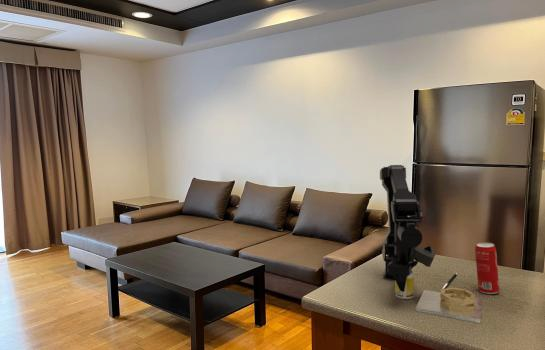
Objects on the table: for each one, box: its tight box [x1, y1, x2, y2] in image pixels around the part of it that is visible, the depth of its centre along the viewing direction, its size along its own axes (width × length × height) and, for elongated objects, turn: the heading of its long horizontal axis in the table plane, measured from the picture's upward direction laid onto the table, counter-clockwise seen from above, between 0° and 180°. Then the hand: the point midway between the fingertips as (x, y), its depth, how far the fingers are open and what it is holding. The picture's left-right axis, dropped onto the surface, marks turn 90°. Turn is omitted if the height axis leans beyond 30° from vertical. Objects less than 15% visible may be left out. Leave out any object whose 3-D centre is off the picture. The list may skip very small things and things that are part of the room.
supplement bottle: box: [394, 272, 415, 300], centre depth 119 cm, size 5×5×10 cm
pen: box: [441, 272, 458, 290], centre depth 129 cm, size 1×19×1 cm, turn 142°
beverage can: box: [474, 241, 500, 295], centre depth 121 cm, size 6×6×15 cm
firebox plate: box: [415, 287, 483, 324], centre depth 111 cm, size 16×14×4 cm
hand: (404, 288), depth 119 cm, fingers closed on supplement bottle, 5 cm apart
